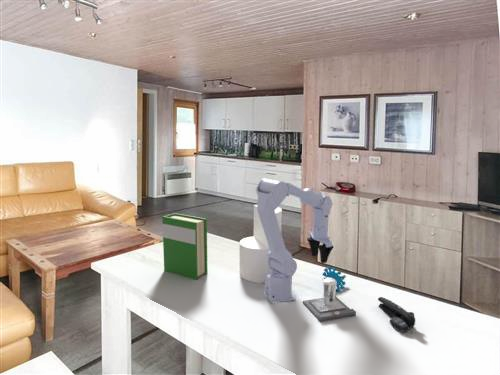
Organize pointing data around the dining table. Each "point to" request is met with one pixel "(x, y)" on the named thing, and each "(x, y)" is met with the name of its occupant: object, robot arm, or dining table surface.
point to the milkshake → (329, 291)
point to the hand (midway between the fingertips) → (319, 259)
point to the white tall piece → (256, 251)
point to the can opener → (397, 315)
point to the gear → (335, 277)
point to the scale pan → (324, 308)
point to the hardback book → (185, 245)
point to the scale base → (330, 315)
